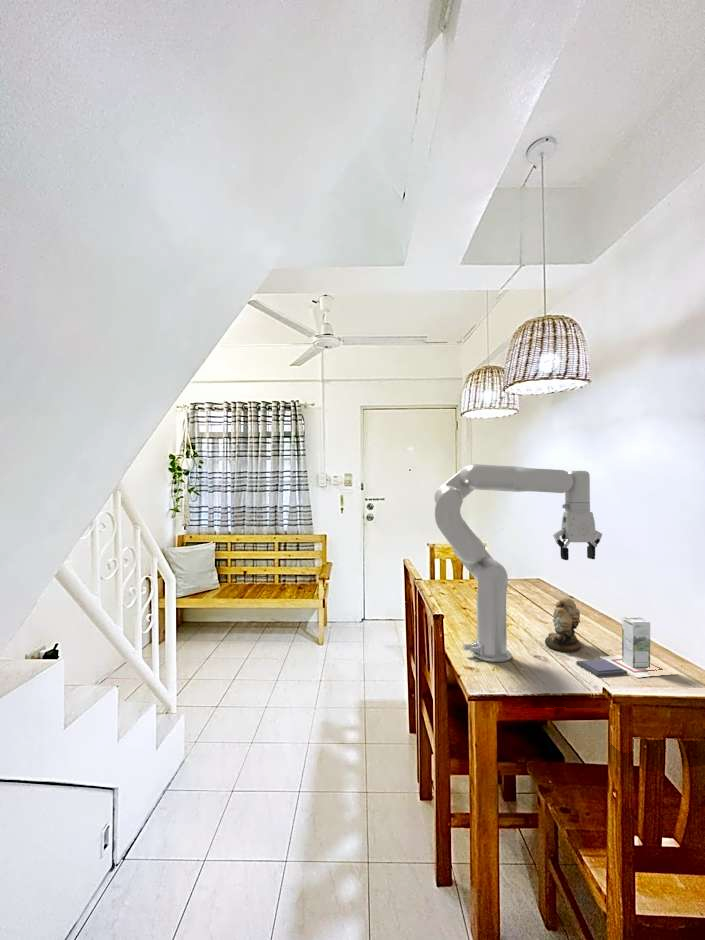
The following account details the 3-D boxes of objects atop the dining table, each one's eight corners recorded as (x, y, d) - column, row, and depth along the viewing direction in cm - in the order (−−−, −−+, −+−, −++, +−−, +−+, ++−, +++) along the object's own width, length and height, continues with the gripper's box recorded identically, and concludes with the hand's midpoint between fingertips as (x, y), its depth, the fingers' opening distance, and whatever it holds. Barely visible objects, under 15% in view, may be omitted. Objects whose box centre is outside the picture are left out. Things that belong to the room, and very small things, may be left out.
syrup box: (638, 661, 159) (638, 615, 159) (651, 668, 153) (650, 621, 153) (621, 661, 159) (621, 616, 159) (633, 668, 153) (632, 621, 153)
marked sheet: (637, 678, 146) (637, 676, 146) (599, 657, 163) (599, 656, 163) (678, 674, 149) (678, 673, 149) (636, 654, 165) (636, 653, 165)
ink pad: (597, 676, 147) (597, 672, 147) (576, 664, 157) (576, 660, 157) (626, 674, 149) (626, 670, 149) (604, 662, 159) (604, 658, 159)
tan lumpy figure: (545, 635, 187) (545, 590, 187) (579, 639, 182) (579, 593, 182) (544, 650, 170) (544, 600, 170) (582, 655, 165) (582, 604, 166)
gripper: (560, 508, 159) (560, 561, 159) (608, 508, 162) (608, 560, 162) (547, 507, 167) (547, 558, 167) (593, 506, 170) (593, 556, 170)
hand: (577, 559), depth 164 cm, fingers open, 9 cm apart
